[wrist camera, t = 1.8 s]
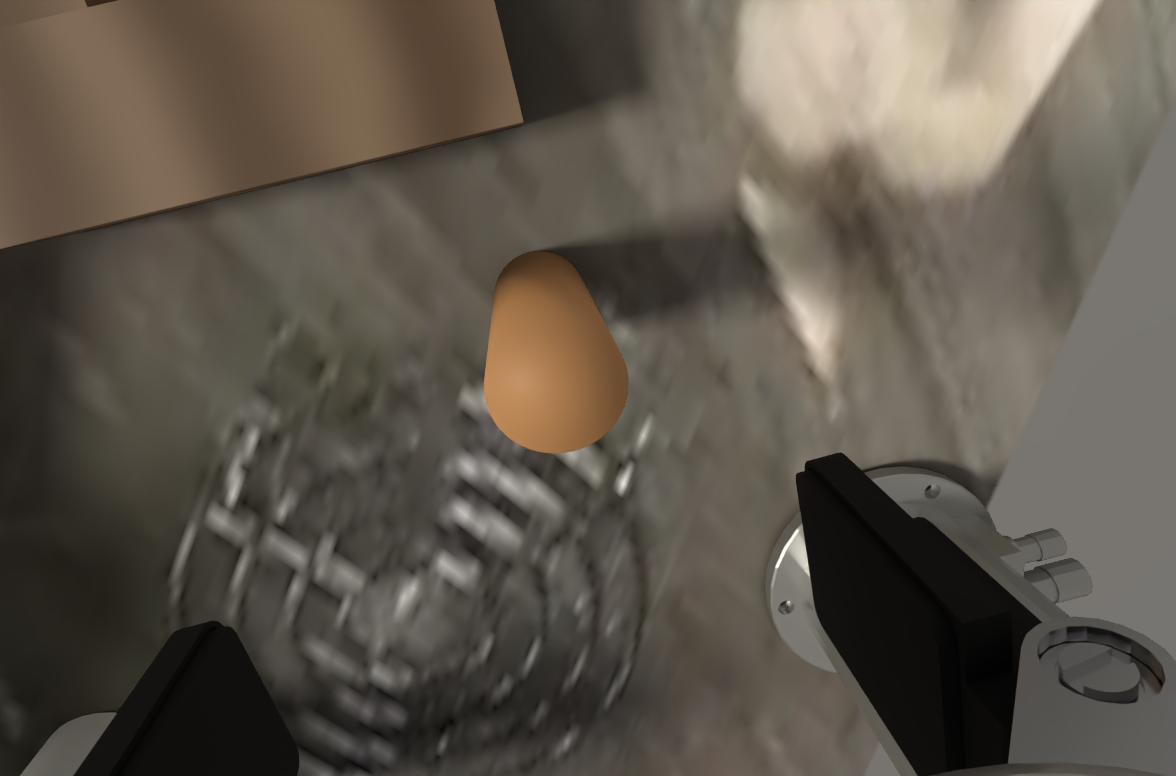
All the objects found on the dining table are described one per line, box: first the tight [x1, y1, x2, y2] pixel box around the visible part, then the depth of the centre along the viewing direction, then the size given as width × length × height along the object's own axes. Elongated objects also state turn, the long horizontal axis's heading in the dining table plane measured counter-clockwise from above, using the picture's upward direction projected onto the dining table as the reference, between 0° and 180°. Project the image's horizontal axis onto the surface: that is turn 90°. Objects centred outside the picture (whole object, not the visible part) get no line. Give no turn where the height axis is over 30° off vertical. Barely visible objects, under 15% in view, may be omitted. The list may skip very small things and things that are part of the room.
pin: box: [484, 251, 628, 453], centre depth 24 cm, size 4×4×12 cm
